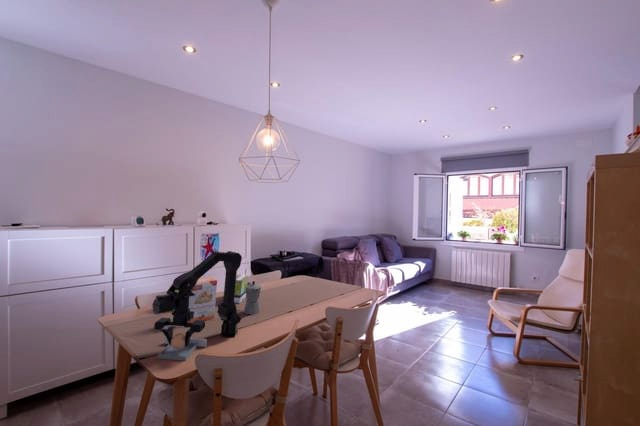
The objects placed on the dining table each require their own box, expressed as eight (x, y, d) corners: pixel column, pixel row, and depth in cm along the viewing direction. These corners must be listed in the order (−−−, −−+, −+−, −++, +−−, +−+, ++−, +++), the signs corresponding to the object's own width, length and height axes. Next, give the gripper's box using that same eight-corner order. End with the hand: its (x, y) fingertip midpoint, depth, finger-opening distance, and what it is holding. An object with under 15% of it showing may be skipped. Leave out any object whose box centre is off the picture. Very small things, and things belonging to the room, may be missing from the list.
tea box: (240, 303, 184) (242, 280, 184) (224, 302, 184) (226, 278, 184) (246, 296, 199) (248, 274, 199) (232, 295, 199) (233, 273, 199)
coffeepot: (263, 314, 169) (265, 283, 168) (247, 317, 164) (249, 285, 163) (253, 306, 182) (255, 277, 181) (238, 308, 177) (240, 278, 176)
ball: (189, 345, 125) (190, 331, 125) (182, 352, 119) (183, 338, 119) (174, 344, 125) (175, 330, 125) (167, 351, 119) (168, 336, 119)
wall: (206, 346, 129) (207, 339, 129) (205, 347, 128) (206, 340, 128) (165, 343, 129) (165, 336, 128) (164, 343, 128) (164, 337, 128)
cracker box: (189, 324, 148) (191, 283, 148) (183, 321, 153) (186, 280, 152) (215, 318, 159) (217, 279, 158) (209, 314, 163) (212, 277, 162)
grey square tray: (197, 347, 127) (197, 343, 127) (185, 360, 116) (185, 356, 116) (171, 345, 127) (171, 341, 127) (157, 358, 116) (157, 354, 116)
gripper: (211, 303, 129) (208, 338, 130) (168, 299, 129) (166, 335, 130) (200, 312, 118) (198, 350, 119) (154, 308, 118) (152, 347, 119)
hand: (178, 345), depth 122 cm, fingers closed on ball, 6 cm apart
